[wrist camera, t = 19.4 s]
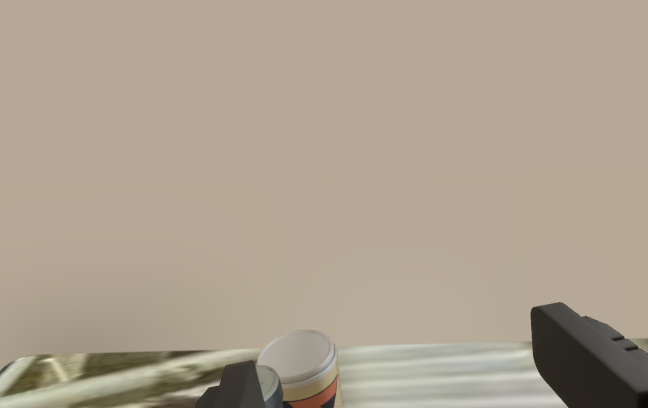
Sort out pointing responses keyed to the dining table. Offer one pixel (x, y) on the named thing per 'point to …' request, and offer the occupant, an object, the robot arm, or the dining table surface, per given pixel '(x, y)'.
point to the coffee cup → (305, 369)
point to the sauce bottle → (270, 386)
